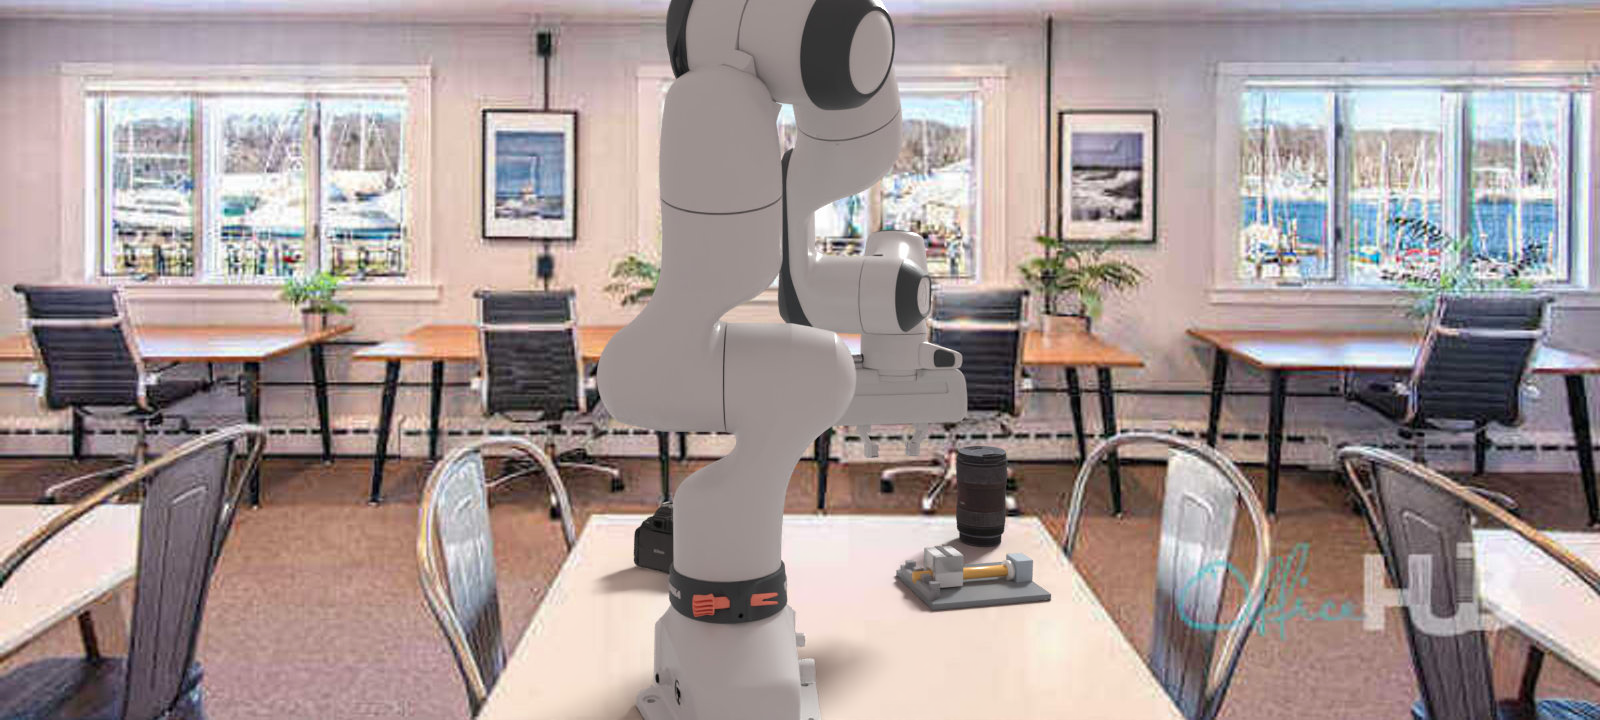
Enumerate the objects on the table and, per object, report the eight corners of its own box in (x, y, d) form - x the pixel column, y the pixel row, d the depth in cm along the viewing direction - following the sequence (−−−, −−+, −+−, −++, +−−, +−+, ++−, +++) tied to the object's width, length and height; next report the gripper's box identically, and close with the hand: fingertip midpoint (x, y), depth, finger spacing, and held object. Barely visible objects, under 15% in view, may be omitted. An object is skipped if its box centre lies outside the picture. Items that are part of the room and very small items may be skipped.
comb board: (1050, 599, 126) (1052, 572, 126) (932, 610, 122) (933, 581, 122) (1004, 566, 140) (1005, 541, 140) (896, 575, 136) (896, 549, 136)
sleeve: (962, 585, 128) (963, 554, 128) (935, 588, 127) (936, 556, 127) (950, 575, 133) (950, 545, 132) (923, 577, 132) (924, 547, 131)
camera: (730, 560, 142) (730, 495, 141) (717, 582, 133) (717, 513, 132) (644, 556, 144) (643, 492, 143) (625, 578, 134) (624, 510, 133)
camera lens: (944, 536, 155) (946, 447, 153) (985, 531, 158) (987, 443, 157) (973, 550, 148) (976, 457, 146) (1015, 544, 151) (1018, 452, 149)
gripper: (824, 357, 119) (823, 464, 121) (973, 354, 124) (970, 457, 126) (811, 352, 125) (811, 454, 127) (954, 350, 130) (952, 448, 132)
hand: (891, 456), depth 126 cm, fingers open, 4 cm apart
